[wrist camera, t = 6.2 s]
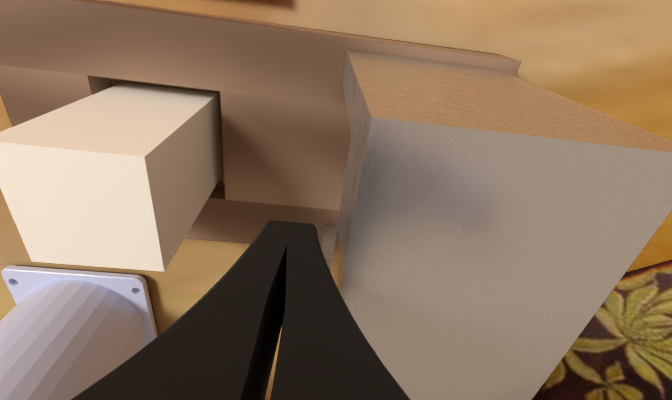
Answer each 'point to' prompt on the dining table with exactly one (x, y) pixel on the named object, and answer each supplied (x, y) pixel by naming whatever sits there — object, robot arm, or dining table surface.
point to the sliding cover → (483, 222)
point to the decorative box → (622, 345)
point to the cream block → (113, 175)
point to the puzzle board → (215, 77)
